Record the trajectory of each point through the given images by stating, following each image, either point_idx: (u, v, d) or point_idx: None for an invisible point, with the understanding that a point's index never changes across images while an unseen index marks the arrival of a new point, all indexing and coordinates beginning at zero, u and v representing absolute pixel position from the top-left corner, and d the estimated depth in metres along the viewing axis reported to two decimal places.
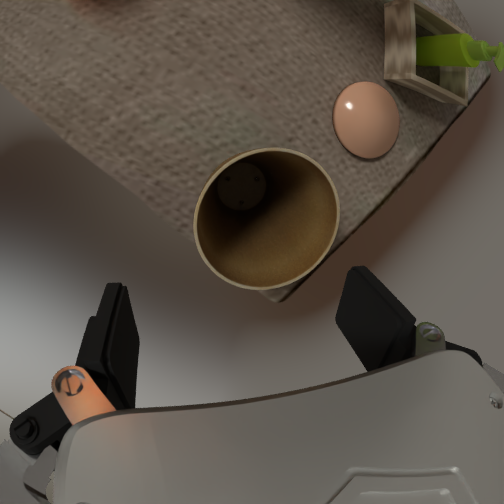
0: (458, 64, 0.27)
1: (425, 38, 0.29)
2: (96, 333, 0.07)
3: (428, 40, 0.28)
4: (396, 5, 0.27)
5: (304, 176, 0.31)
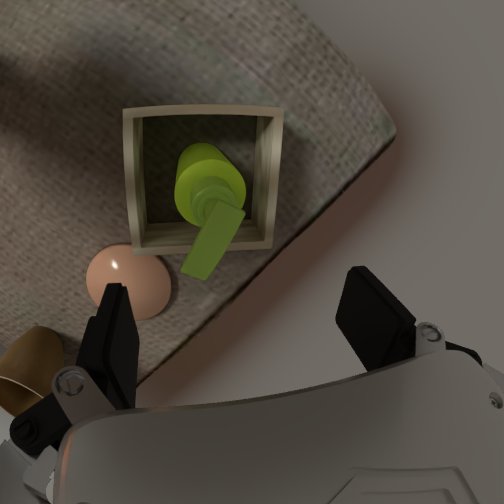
0: None
1: (180, 160, 0.28)
2: (96, 333, 0.07)
3: (177, 167, 0.28)
4: None
5: None
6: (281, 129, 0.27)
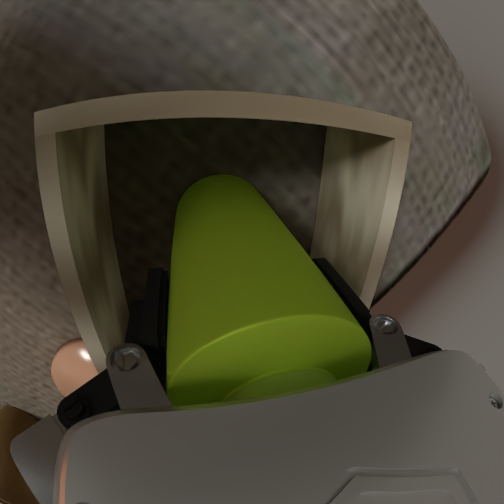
0: None
1: (179, 224, 0.13)
2: (148, 312, 0.08)
3: (173, 247, 0.12)
4: None
5: None
6: (404, 167, 0.12)
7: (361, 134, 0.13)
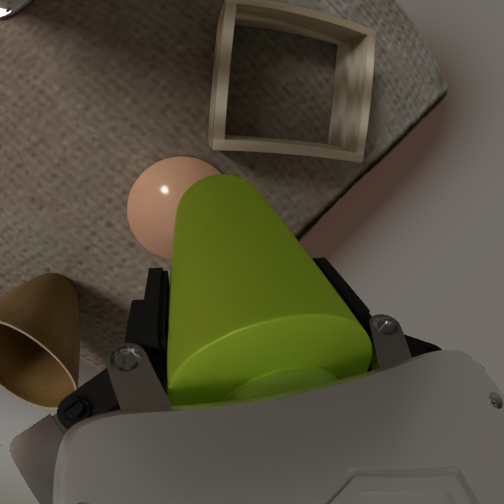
0: None
1: (180, 224, 0.13)
2: (148, 312, 0.08)
3: (173, 247, 0.12)
4: (221, 16, 0.21)
5: None
6: (373, 47, 0.22)
7: (354, 40, 0.24)
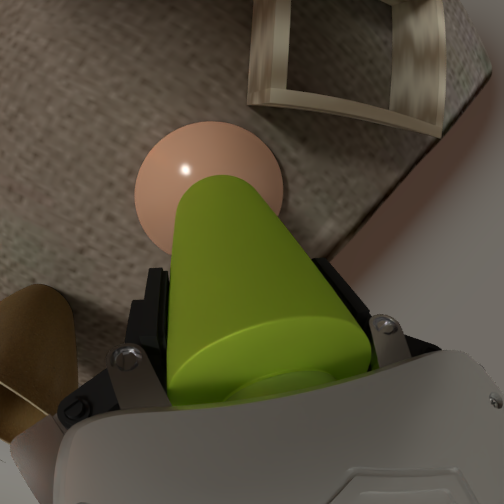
0: None
1: (179, 225, 0.13)
2: (148, 312, 0.08)
3: (173, 248, 0.12)
4: None
5: None
6: (442, 8, 0.13)
7: (416, 0, 0.14)
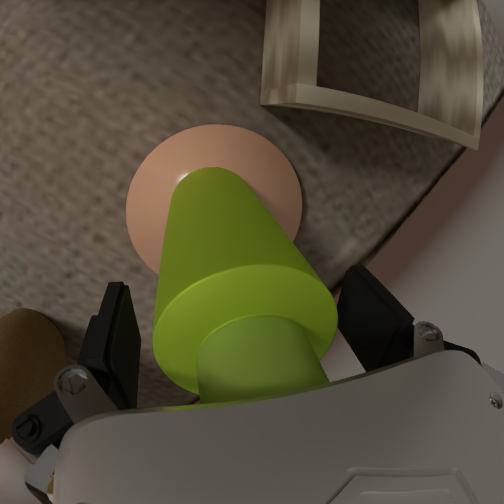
0: None
1: (172, 210, 0.14)
2: (98, 332, 0.07)
3: (165, 229, 0.14)
4: None
5: None
6: (476, 5, 0.09)
7: None
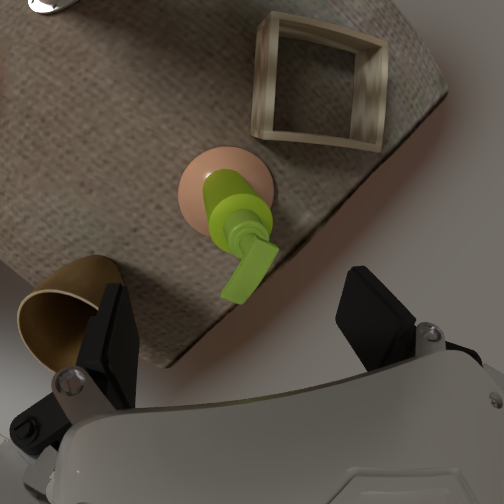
0: None
1: (208, 187, 0.32)
2: (96, 333, 0.07)
3: (205, 194, 0.31)
4: (263, 27, 0.26)
5: None
6: (387, 56, 0.26)
7: (370, 50, 0.28)
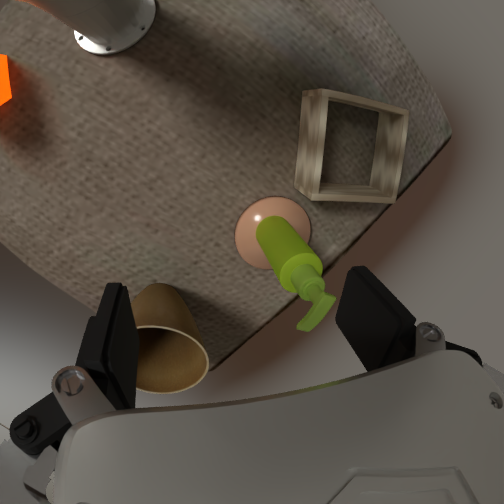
0: None
1: (266, 235, 0.41)
2: (96, 333, 0.07)
3: (266, 243, 0.41)
4: (311, 98, 0.35)
5: None
6: (407, 124, 0.36)
7: (393, 114, 0.38)
